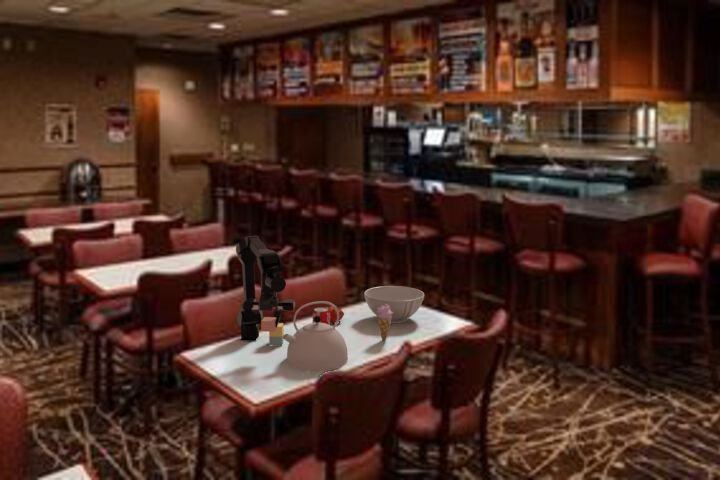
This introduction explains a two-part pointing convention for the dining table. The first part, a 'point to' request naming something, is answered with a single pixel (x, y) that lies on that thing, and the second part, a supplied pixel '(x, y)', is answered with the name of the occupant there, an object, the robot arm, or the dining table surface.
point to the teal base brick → (276, 340)
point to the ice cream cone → (384, 320)
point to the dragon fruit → (334, 314)
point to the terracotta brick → (268, 324)
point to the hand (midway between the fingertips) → (269, 326)
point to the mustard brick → (277, 331)
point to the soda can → (322, 315)
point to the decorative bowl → (395, 301)
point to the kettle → (316, 345)
